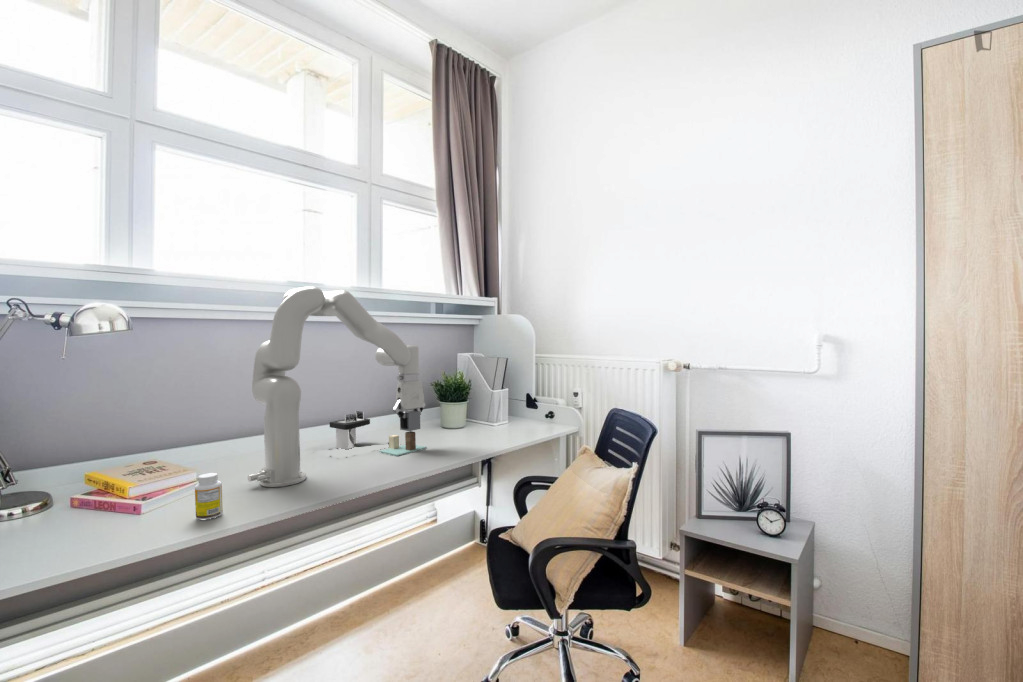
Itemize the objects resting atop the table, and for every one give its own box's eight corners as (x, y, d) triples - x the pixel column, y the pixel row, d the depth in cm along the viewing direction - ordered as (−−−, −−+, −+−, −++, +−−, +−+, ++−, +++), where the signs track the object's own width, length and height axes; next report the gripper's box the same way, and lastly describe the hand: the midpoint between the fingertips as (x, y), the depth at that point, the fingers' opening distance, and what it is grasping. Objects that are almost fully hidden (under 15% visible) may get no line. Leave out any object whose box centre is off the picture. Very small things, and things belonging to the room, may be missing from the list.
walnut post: (410, 450, 177) (409, 433, 177) (405, 449, 179) (405, 432, 179) (415, 449, 179) (415, 432, 179) (411, 448, 181) (410, 431, 181)
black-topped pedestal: (341, 460, 169) (340, 421, 169) (299, 450, 184) (298, 415, 184) (402, 444, 191) (401, 410, 191) (361, 436, 207) (360, 405, 207)
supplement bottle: (205, 512, 120) (204, 471, 120) (227, 512, 120) (226, 471, 120) (190, 521, 115) (188, 478, 114) (213, 521, 115) (212, 478, 114)
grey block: (409, 431, 175) (409, 413, 175) (400, 429, 179) (399, 411, 178) (420, 428, 180) (420, 411, 179) (411, 427, 183) (410, 409, 183)
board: (397, 456, 172) (396, 441, 172) (378, 452, 178) (378, 438, 178) (426, 448, 183) (426, 434, 183) (408, 444, 189) (408, 431, 189)
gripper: (397, 381, 170) (398, 432, 170) (433, 376, 183) (434, 424, 184) (383, 380, 174) (385, 430, 175) (419, 375, 188) (420, 422, 188)
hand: (410, 426), depth 179 cm, fingers closed on grey block, 5 cm apart
